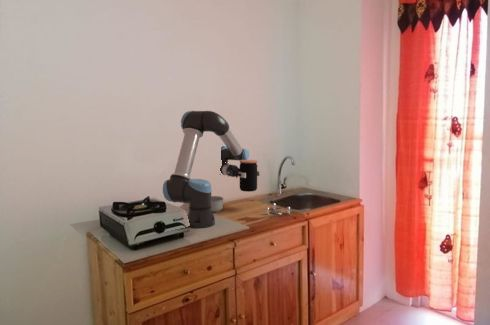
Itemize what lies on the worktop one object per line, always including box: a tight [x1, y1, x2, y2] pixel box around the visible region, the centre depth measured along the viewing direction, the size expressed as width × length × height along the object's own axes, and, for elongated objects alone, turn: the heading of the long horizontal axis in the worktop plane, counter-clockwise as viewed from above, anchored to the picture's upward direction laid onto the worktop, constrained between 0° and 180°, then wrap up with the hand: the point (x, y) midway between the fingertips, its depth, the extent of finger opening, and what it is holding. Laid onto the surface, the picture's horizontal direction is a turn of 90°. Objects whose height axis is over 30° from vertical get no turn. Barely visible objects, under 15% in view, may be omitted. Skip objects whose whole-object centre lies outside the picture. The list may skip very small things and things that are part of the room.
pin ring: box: [265, 202, 291, 216], centre depth 222 cm, size 12×14×4 cm
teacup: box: [211, 195, 224, 213], centre depth 228 cm, size 14×11×8 cm
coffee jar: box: [239, 159, 258, 193], centre depth 230 cm, size 11×11×18 cm
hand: (252, 174), depth 226 cm, fingers closed on coffee jar, 11 cm apart
